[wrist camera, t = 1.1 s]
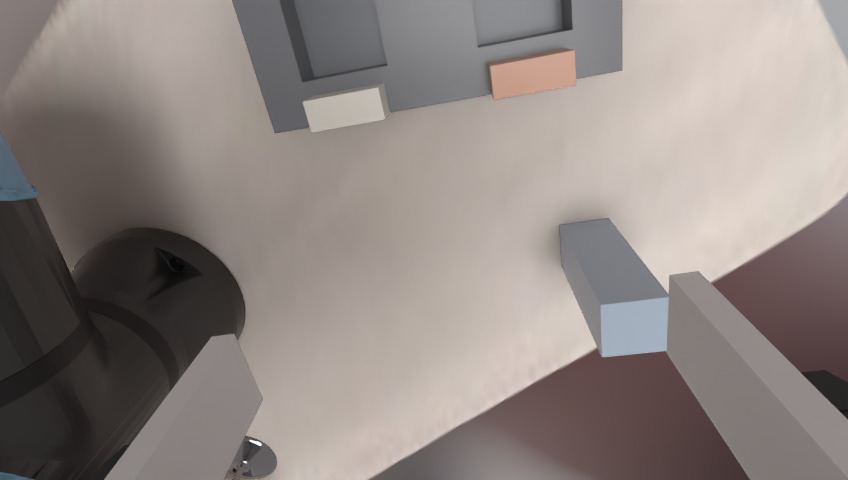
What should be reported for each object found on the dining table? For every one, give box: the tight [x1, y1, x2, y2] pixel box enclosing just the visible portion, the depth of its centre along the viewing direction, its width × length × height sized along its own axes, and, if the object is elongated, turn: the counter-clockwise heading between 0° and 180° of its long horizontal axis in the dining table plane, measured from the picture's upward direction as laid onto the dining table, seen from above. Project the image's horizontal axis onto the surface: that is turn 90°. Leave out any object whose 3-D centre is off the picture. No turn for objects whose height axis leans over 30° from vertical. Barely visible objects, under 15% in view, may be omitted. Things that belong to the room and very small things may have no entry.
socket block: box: [232, 0, 622, 133], centre depth 29 cm, size 24×12×6 cm, turn 101°
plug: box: [559, 218, 669, 357], centre depth 33 cm, size 4×4×12 cm
